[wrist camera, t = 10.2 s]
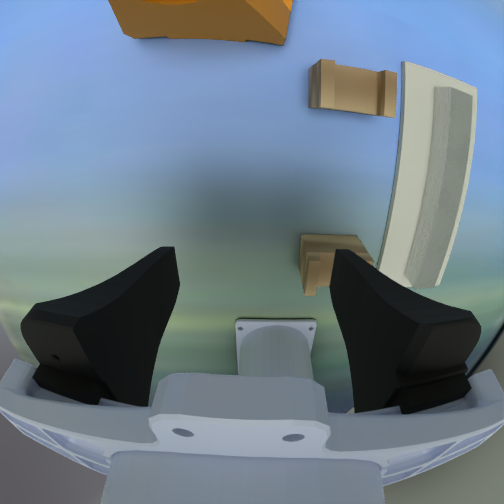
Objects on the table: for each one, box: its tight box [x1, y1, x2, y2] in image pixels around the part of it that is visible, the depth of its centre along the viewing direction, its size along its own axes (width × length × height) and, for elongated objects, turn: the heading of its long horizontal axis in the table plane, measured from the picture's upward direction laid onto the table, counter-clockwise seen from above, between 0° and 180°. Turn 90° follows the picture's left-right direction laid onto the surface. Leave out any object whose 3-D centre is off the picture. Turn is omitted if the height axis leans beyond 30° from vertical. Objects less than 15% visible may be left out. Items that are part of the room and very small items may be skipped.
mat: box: [377, 61, 477, 287], centre depth 19 cm, size 20×8×1 cm, turn 0°
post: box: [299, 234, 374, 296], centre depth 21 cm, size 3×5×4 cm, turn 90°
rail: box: [404, 87, 473, 289], centre depth 18 cm, size 17×2×2 cm, turn 0°
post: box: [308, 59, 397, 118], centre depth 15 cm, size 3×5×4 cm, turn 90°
